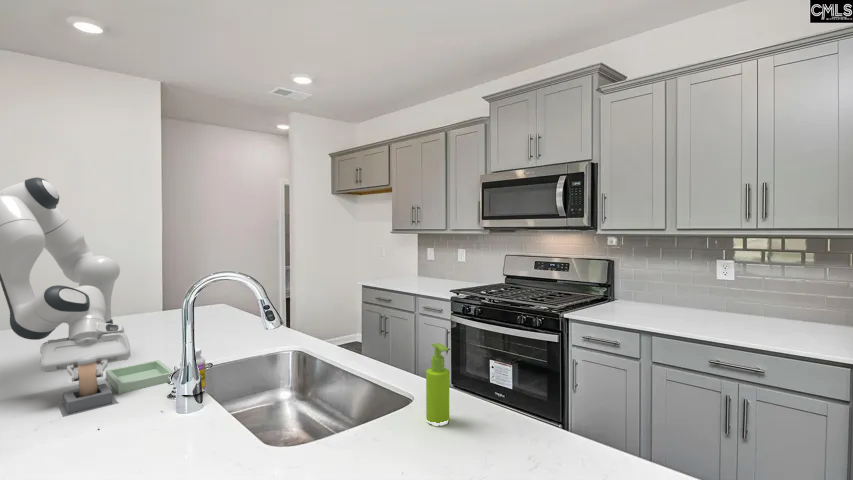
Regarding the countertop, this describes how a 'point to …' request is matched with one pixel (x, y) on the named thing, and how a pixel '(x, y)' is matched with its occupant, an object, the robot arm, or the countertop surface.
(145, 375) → the parts tray
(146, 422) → the countertop surface
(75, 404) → the socket block
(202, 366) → the supplement bottle
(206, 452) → the countertop surface
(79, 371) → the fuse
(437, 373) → the soap dispenser
